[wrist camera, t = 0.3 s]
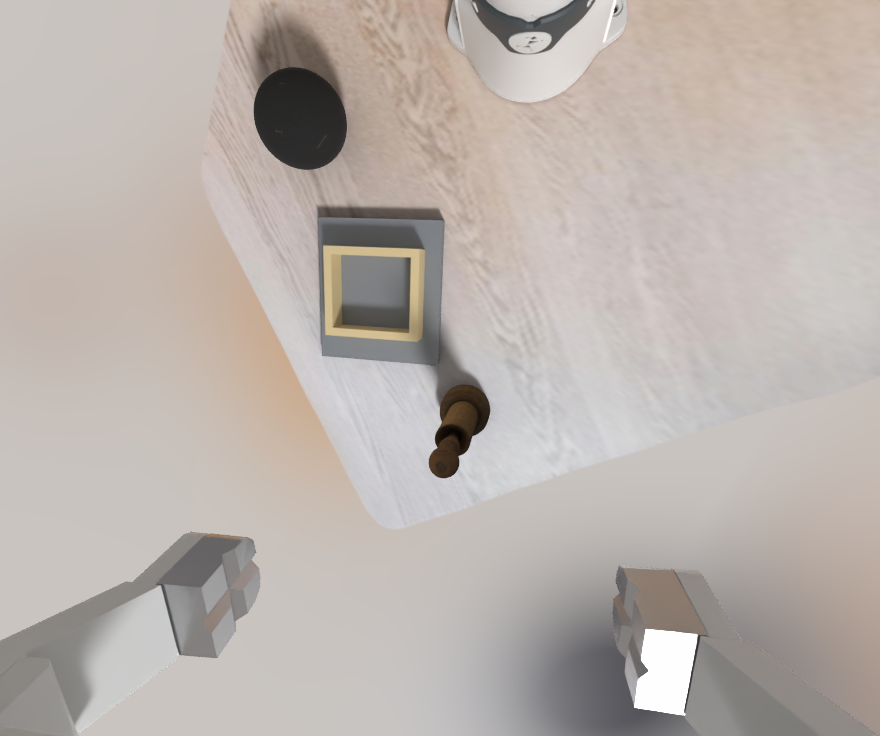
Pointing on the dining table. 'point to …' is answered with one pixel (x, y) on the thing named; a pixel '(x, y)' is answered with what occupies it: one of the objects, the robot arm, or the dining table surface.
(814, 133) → the dining table surface
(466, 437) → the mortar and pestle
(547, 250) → the dining table surface
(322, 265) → the holder
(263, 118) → the speaker
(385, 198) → the dining table surface
